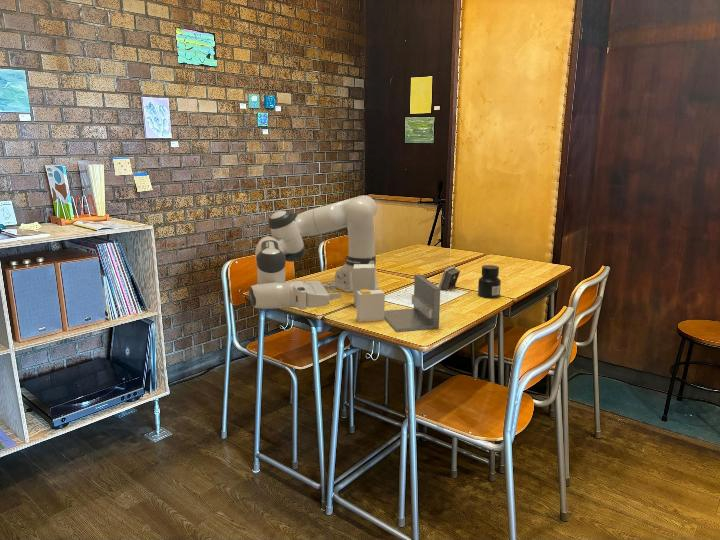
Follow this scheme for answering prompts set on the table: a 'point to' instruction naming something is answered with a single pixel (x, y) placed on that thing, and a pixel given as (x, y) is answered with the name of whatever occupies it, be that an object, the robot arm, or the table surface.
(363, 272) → the skincare box
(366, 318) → the module
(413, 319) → the grey l-shaped stand
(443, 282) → the electrical switch
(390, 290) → the table surface
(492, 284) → the ink bottle
